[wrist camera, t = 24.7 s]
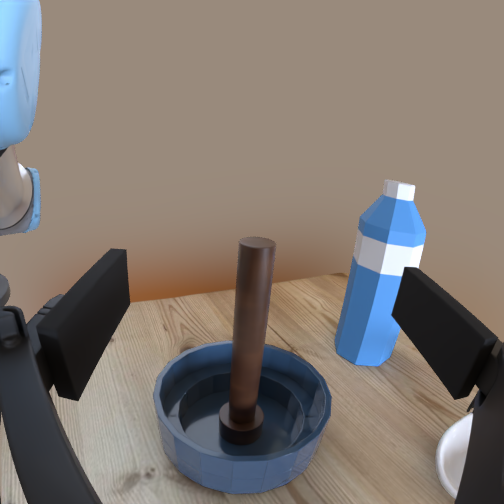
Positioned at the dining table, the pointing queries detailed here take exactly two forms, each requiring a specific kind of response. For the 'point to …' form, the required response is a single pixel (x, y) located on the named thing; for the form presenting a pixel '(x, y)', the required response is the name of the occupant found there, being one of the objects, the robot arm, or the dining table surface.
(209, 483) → the bowl
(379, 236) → the water bottle
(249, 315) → the pestle
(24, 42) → the robot arm
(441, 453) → the spoon rest
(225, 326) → the dining table surface
